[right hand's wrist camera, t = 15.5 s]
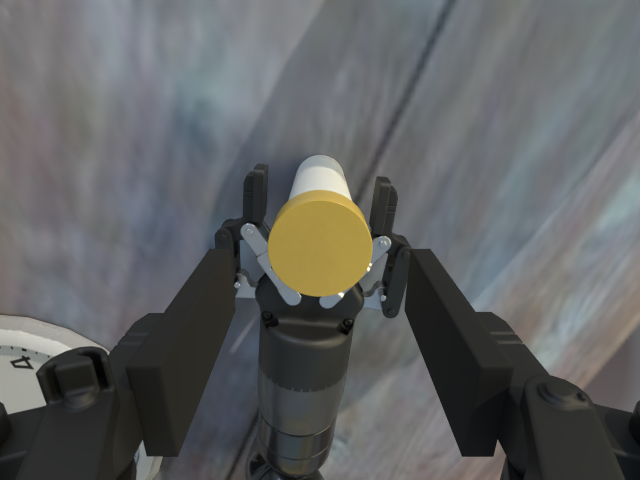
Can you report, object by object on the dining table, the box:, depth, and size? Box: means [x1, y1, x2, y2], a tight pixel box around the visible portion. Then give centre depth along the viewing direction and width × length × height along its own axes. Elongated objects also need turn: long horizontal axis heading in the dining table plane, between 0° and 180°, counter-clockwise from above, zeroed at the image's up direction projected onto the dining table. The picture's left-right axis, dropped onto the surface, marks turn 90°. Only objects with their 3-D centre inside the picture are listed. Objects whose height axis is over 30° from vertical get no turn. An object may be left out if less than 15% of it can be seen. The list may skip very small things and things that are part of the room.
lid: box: [267, 190, 373, 297], centre depth 18 cm, size 5×5×2 cm
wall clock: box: [0, 315, 163, 480], centre depth 42 cm, size 30×2×30 cm
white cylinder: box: [288, 155, 352, 201], centre depth 25 cm, size 4×4×16 cm
